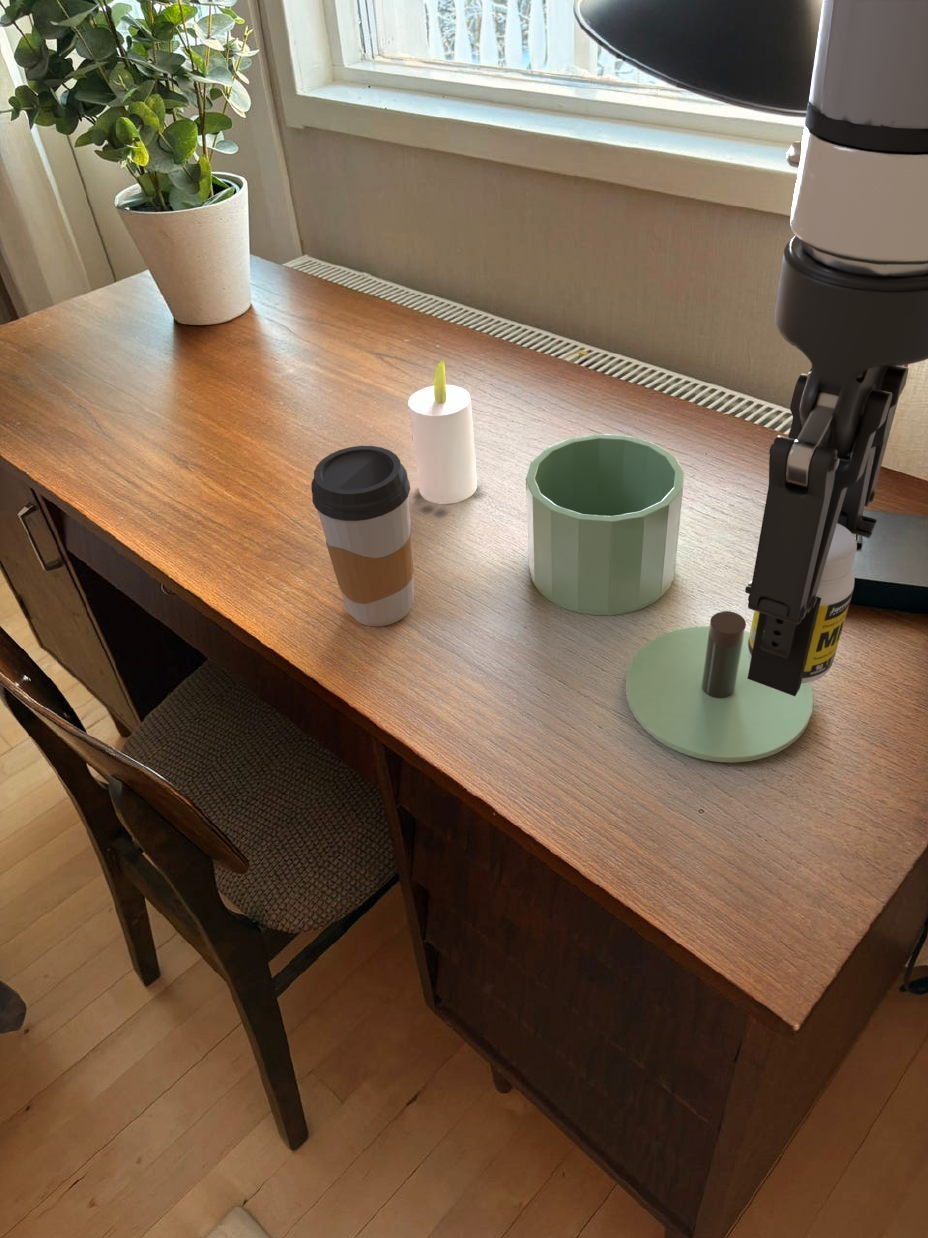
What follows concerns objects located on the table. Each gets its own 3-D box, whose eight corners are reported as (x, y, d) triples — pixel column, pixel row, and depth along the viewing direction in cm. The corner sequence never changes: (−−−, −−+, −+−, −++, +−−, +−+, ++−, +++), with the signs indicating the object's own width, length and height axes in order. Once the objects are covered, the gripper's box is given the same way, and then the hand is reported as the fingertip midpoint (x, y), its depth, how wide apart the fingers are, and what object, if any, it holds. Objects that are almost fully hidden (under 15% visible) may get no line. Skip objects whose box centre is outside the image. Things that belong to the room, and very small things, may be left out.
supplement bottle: (819, 697, 51) (851, 579, 46) (734, 669, 53) (755, 552, 48) (842, 643, 54) (875, 525, 49) (761, 618, 56) (784, 503, 51)
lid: (837, 674, 77) (857, 599, 72) (769, 797, 69) (787, 722, 63) (673, 615, 84) (680, 541, 79) (592, 719, 76) (595, 645, 70)
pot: (698, 551, 90) (709, 457, 83) (632, 634, 83) (638, 538, 76) (575, 511, 97) (575, 421, 90) (502, 584, 89) (497, 492, 82)
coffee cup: (442, 591, 89) (426, 455, 79) (393, 646, 84) (369, 507, 74) (369, 568, 92) (346, 434, 82) (318, 619, 87) (286, 483, 77)
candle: (435, 465, 105) (421, 339, 95) (487, 478, 102) (478, 349, 92) (406, 495, 101) (389, 367, 91) (459, 509, 98) (447, 378, 88)
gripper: (857, 164, 45) (783, 549, 61) (705, 308, 35) (662, 729, 50) (1029, 182, 42) (904, 586, 57) (918, 349, 31) (801, 788, 47)
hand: (791, 652), depth 54 cm, fingers closed on supplement bottle, 5 cm apart
